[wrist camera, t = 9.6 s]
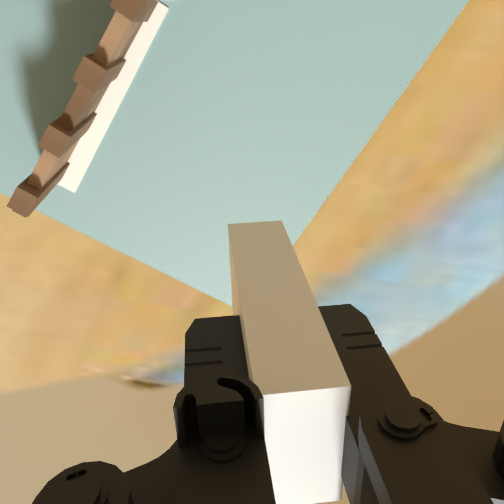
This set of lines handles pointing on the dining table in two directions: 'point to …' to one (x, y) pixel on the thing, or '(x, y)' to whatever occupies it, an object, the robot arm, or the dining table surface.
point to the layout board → (207, 115)
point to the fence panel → (82, 103)
